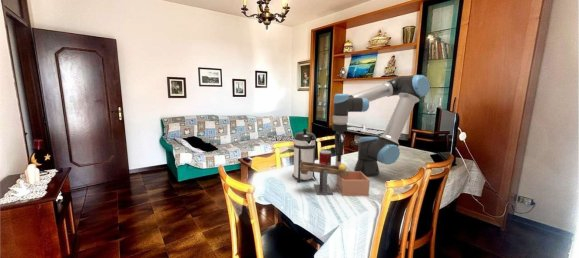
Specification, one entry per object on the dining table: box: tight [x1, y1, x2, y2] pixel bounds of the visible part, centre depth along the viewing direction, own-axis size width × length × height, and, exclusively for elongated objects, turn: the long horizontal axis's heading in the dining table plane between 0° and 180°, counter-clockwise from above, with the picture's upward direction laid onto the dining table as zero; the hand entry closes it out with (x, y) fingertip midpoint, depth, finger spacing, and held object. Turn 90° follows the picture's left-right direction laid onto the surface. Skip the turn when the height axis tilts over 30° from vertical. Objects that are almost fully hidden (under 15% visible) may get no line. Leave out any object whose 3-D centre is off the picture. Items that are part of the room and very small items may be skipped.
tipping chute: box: [300, 159, 350, 176], centre depth 125 cm, size 24×13×6 cm, turn 92°
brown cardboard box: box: [335, 170, 371, 197], centre depth 124 cm, size 13×13×8 cm
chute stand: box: [313, 170, 334, 196], centre depth 123 cm, size 8×11×13 cm
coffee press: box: [291, 127, 317, 183], centre depth 139 cm, size 17×16×30 cm
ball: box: [339, 163, 348, 171], centre depth 123 cm, size 4×4×4 cm
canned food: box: [318, 149, 332, 165], centre depth 161 cm, size 8×8×11 cm
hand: (338, 166), depth 129 cm, fingers closed
